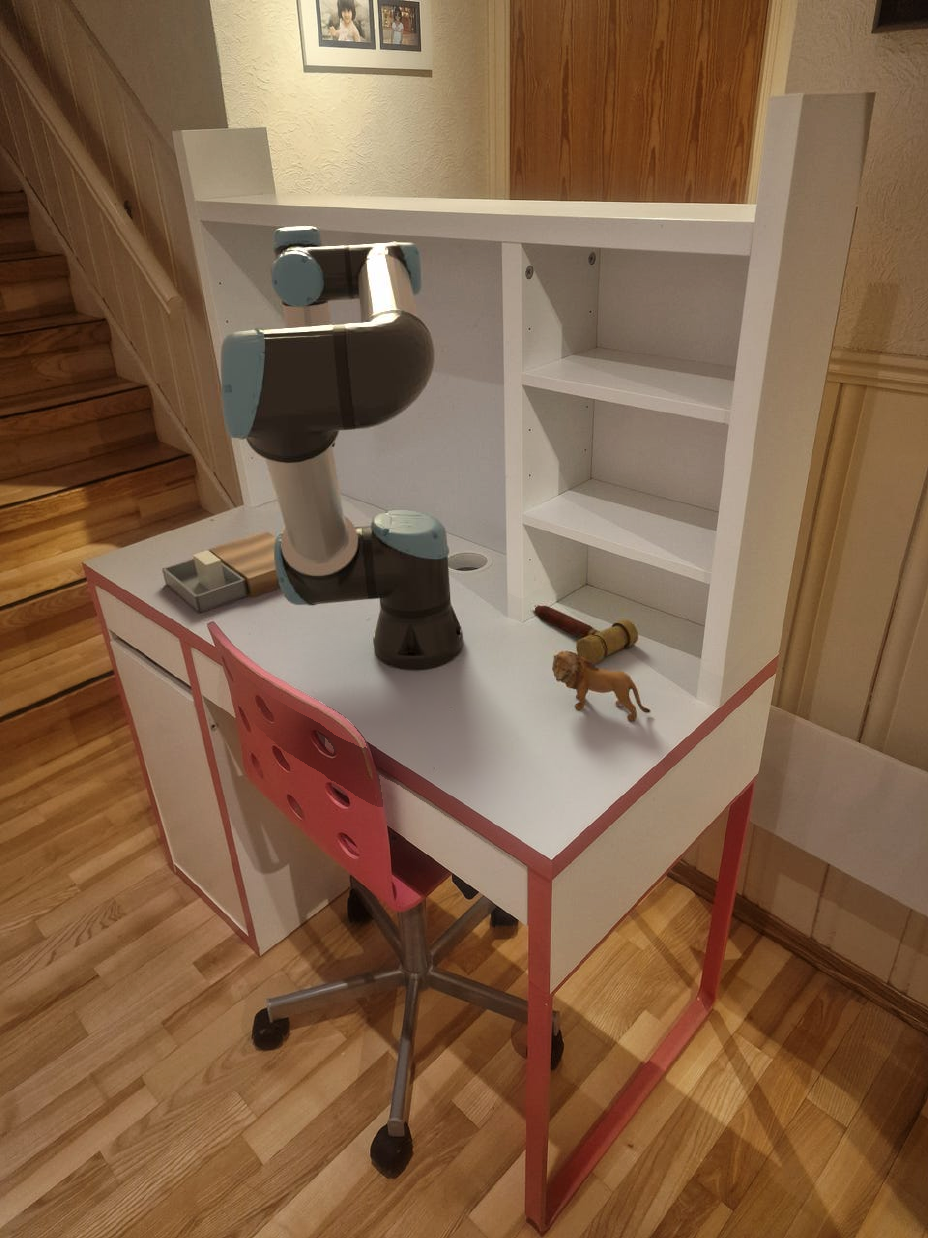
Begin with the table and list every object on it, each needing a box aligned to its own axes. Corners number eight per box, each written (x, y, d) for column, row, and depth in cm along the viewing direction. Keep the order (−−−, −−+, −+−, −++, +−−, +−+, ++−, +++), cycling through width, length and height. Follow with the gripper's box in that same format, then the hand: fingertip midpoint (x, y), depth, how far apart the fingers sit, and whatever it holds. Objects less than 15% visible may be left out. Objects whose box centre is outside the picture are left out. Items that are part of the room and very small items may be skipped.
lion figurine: (548, 711, 126) (548, 660, 122) (555, 691, 131) (555, 641, 126) (648, 724, 122) (652, 673, 118) (651, 703, 127) (656, 653, 122)
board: (311, 575, 168) (309, 557, 166) (252, 597, 161) (248, 578, 159) (269, 547, 181) (266, 530, 179) (212, 566, 174) (208, 549, 172)
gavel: (510, 604, 149) (552, 586, 154) (511, 627, 151) (553, 609, 156) (595, 644, 134) (639, 624, 139) (595, 669, 136) (638, 648, 141)
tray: (248, 595, 162) (245, 579, 160) (199, 613, 157) (195, 596, 155) (212, 568, 173) (209, 553, 171) (165, 584, 168) (162, 568, 166)
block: (220, 560, 161) (205, 564, 160) (226, 587, 164) (211, 592, 163) (207, 550, 165) (193, 554, 164) (213, 577, 168) (199, 582, 167)
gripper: (331, 320, 146) (346, 452, 158) (262, 332, 139) (283, 469, 151) (354, 326, 141) (368, 462, 153) (285, 339, 134) (304, 480, 146)
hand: (326, 465), depth 152 cm, fingers closed
